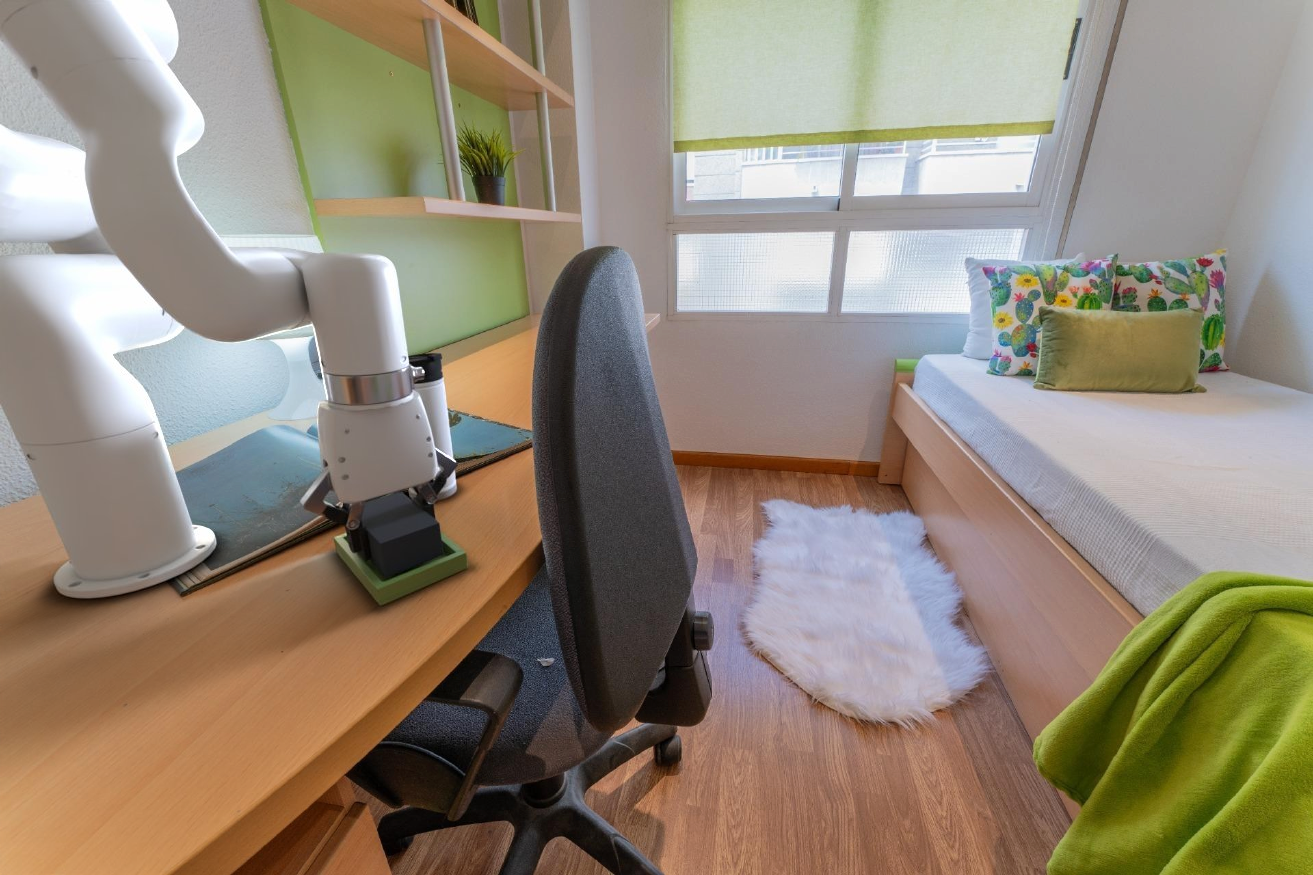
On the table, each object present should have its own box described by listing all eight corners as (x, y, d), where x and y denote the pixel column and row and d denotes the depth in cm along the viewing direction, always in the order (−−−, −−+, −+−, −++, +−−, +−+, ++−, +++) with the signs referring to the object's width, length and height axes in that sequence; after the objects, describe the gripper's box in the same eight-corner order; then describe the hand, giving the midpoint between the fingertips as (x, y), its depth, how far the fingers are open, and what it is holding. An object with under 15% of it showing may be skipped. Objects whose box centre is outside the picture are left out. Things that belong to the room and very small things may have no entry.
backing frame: (336, 552, 59) (332, 536, 59) (417, 523, 66) (415, 509, 65) (380, 606, 51) (377, 589, 50) (468, 567, 57) (466, 552, 56)
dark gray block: (351, 539, 59) (345, 507, 57) (405, 520, 63) (401, 491, 61) (386, 577, 52) (380, 543, 51) (443, 554, 56) (439, 522, 55)
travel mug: (443, 505, 70) (423, 359, 63) (399, 499, 71) (375, 356, 64) (467, 485, 76) (452, 350, 69) (427, 480, 77) (408, 347, 70)
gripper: (438, 366, 59) (454, 506, 66) (254, 392, 48) (295, 559, 54) (470, 379, 55) (484, 528, 61) (275, 411, 43) (317, 592, 49)
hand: (395, 541), depth 57 cm, fingers closed on dark gray block, 5 cm apart
